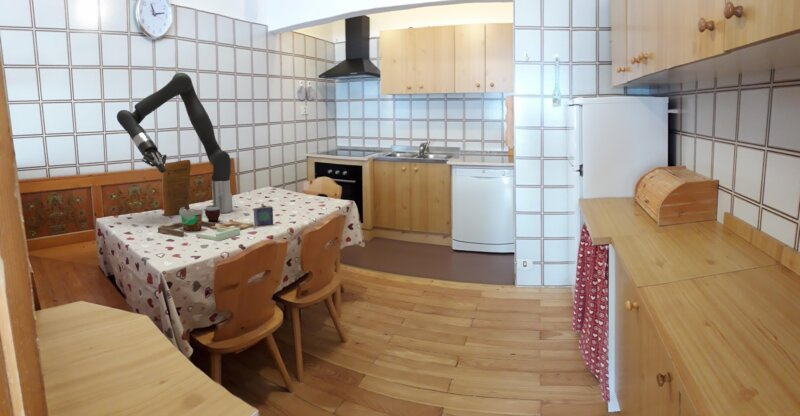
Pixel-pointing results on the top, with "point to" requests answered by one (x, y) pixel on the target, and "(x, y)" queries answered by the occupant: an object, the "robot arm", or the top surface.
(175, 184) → the pancake mix bag
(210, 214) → the mate gourd
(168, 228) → the walnut stall
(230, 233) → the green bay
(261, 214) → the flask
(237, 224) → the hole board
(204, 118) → the robot arm
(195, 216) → the food container
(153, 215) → the top surface
